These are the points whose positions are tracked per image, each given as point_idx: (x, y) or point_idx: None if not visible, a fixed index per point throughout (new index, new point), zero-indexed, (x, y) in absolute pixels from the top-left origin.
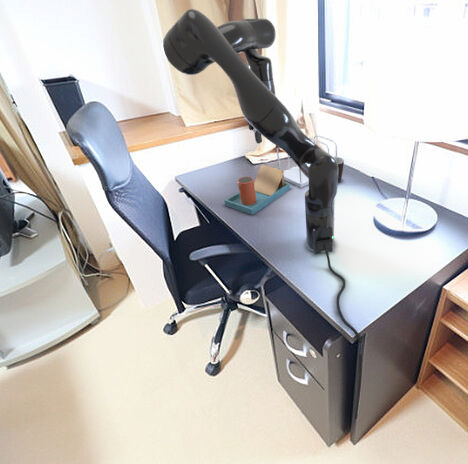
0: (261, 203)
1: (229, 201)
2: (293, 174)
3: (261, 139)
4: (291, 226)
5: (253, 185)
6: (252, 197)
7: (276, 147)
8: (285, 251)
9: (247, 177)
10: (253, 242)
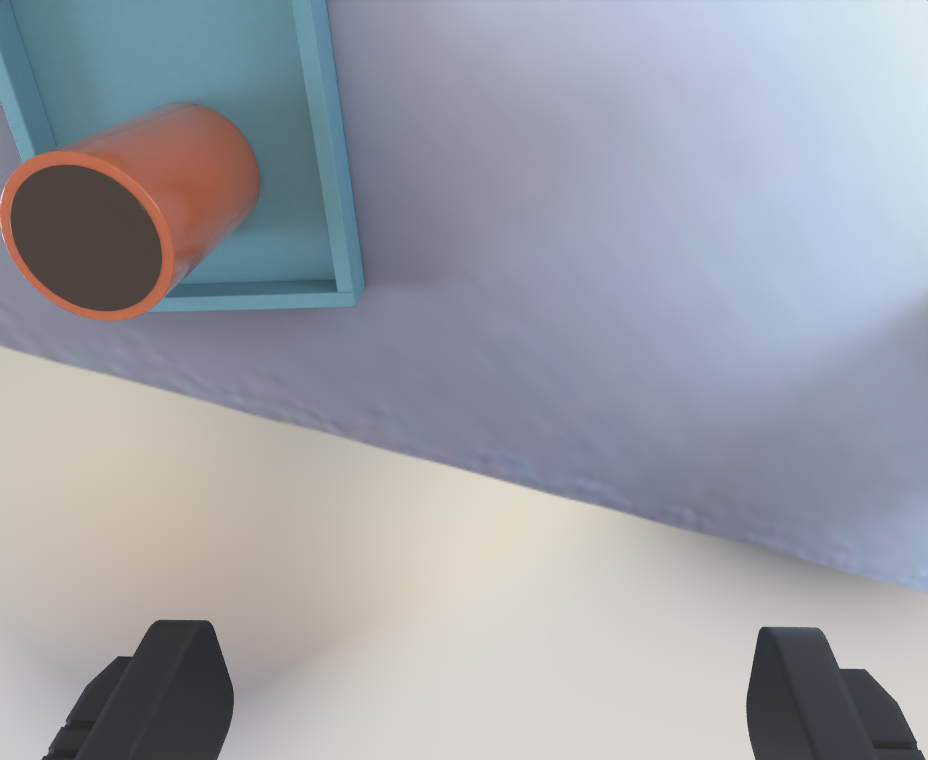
0: (339, 183)
1: None
2: None
3: (184, 672)
4: (724, 250)
5: (185, 197)
6: (237, 203)
7: (752, 716)
8: (826, 468)
9: (49, 187)
10: (599, 492)
